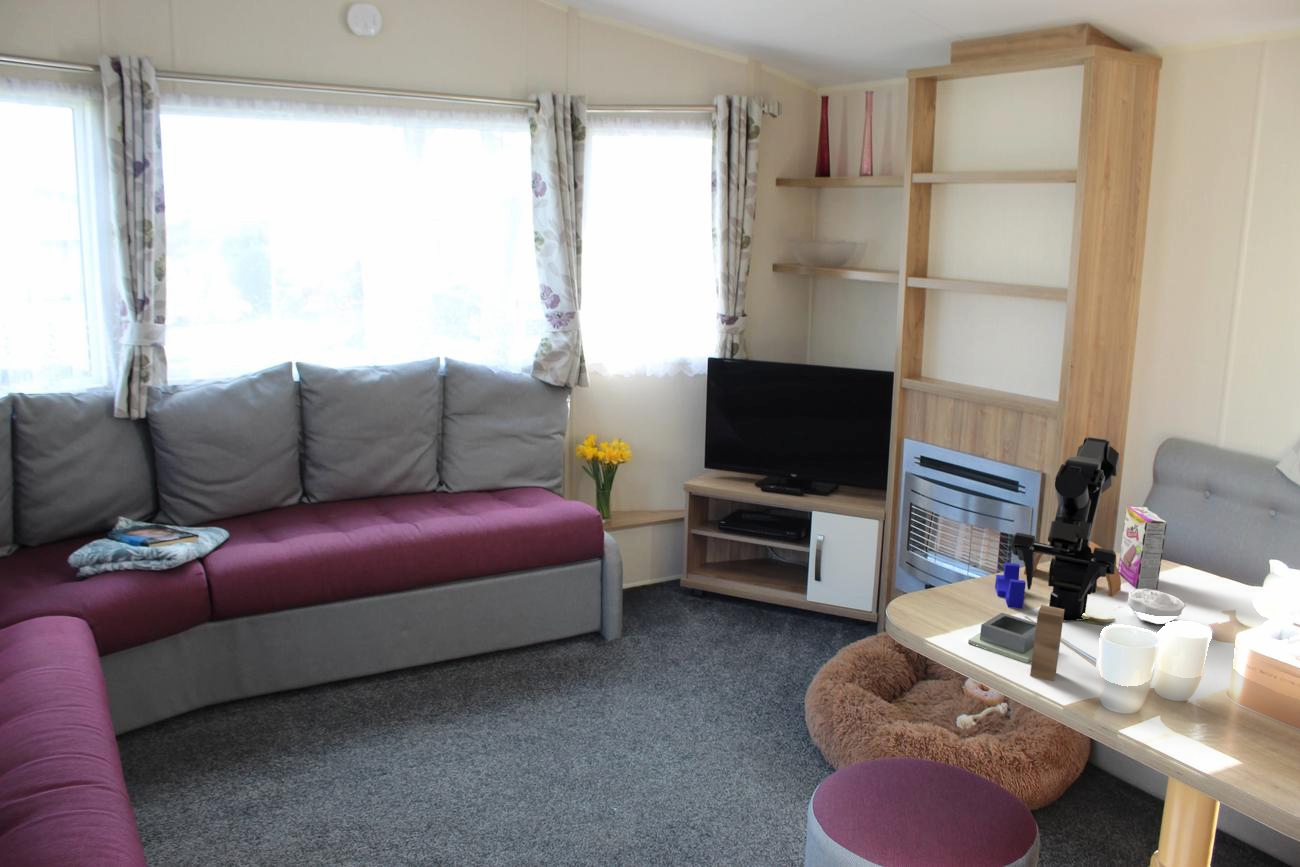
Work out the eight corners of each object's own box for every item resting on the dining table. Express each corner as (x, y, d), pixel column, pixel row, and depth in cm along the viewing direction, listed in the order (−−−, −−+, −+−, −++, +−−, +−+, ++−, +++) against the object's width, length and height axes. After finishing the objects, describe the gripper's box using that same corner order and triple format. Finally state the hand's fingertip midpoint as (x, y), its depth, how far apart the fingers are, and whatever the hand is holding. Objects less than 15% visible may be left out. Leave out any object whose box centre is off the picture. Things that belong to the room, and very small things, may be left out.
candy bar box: (1115, 572, 257) (1125, 505, 253) (1137, 573, 257) (1147, 506, 253) (1135, 590, 246) (1146, 520, 242) (1158, 591, 246) (1168, 521, 242)
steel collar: (1000, 627, 220) (1001, 612, 220) (1043, 640, 215) (1045, 625, 214) (979, 639, 214) (981, 624, 213) (1023, 654, 208) (1025, 638, 207)
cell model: (1160, 609, 235) (1165, 580, 234) (1191, 632, 224) (1196, 601, 222) (1115, 609, 235) (1119, 579, 233) (1143, 632, 223) (1148, 601, 221)
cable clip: (994, 587, 245) (997, 561, 244) (1015, 589, 244) (1018, 563, 243) (1000, 607, 234) (1003, 580, 232) (1022, 609, 233) (1025, 583, 231)
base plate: (995, 626, 223) (996, 622, 223) (1053, 645, 215) (1054, 641, 215) (968, 643, 214) (968, 639, 214) (1027, 663, 206) (1027, 659, 206)
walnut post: (1033, 667, 205) (1041, 604, 202) (1056, 672, 203) (1064, 609, 200) (1030, 675, 201) (1038, 611, 198) (1052, 680, 199) (1061, 616, 196)
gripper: (1018, 493, 210) (999, 568, 205) (1122, 512, 202) (1106, 590, 196) (1022, 517, 219) (1004, 589, 214) (1122, 535, 211) (1106, 611, 205)
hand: (1053, 594), depth 207 cm, fingers open, 9 cm apart
